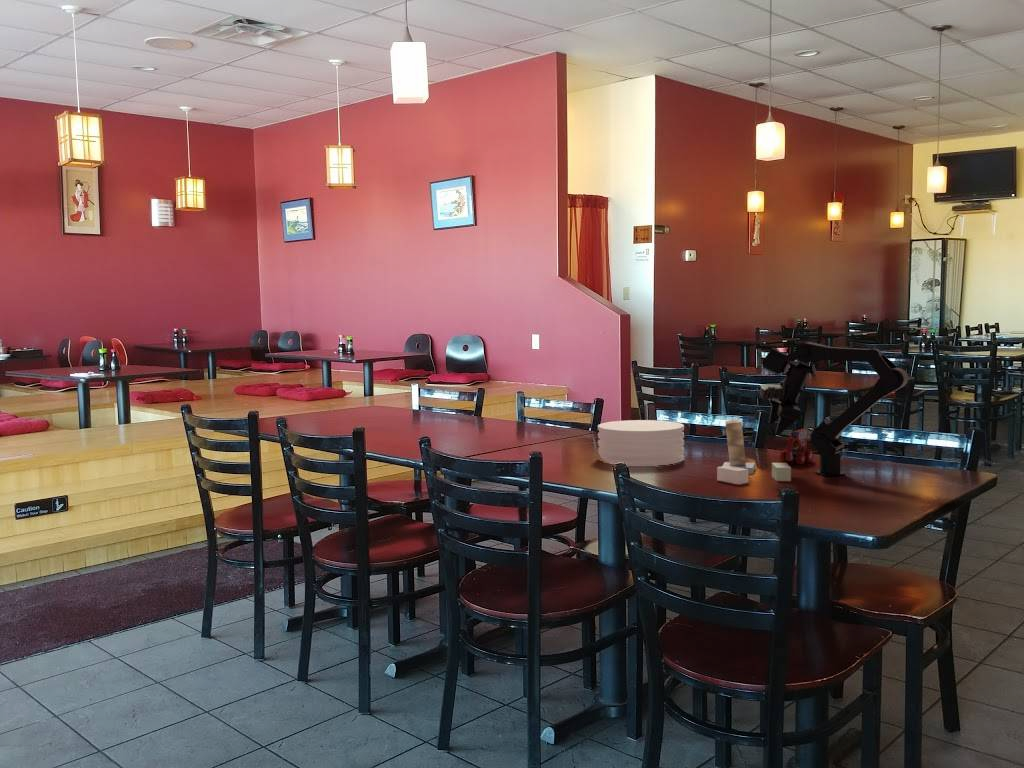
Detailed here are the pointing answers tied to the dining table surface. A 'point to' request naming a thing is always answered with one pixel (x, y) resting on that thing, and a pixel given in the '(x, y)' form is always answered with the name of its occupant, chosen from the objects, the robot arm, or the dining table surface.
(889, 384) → the robot arm
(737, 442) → the birch pillar
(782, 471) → the sage brick
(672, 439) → the plate stack
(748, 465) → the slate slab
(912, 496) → the dining table surface
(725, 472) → the cream brick
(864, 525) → the dining table surface
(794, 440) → the toy fire truck
